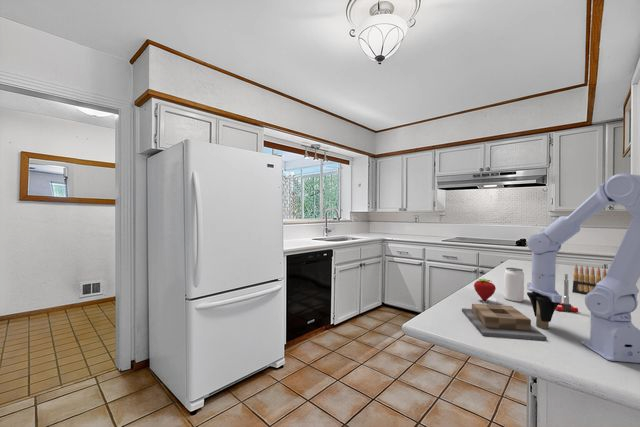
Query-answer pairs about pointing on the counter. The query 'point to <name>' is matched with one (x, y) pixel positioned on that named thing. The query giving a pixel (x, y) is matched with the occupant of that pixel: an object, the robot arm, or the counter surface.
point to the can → (514, 284)
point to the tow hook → (566, 299)
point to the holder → (502, 322)
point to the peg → (538, 320)
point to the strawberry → (484, 288)
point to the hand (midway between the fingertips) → (542, 319)
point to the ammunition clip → (586, 280)
